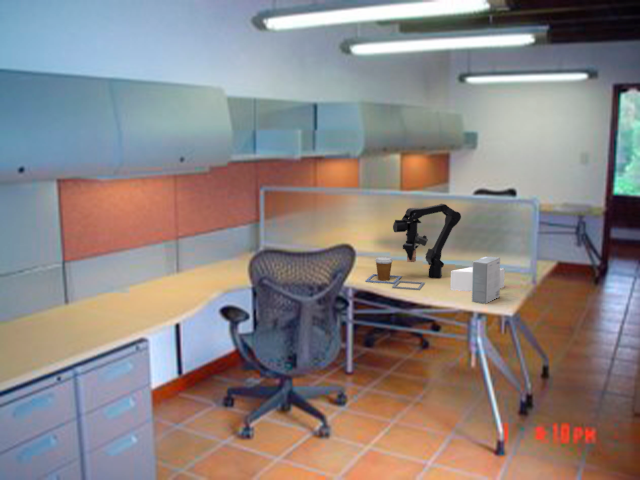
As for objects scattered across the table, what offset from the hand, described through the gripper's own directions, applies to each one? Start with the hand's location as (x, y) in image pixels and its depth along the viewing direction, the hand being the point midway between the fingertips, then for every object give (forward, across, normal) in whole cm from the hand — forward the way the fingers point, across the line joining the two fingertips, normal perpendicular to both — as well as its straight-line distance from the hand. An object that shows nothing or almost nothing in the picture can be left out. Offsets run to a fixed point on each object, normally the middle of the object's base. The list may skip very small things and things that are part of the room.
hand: (411, 259), depth 349 cm
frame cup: (+11, -6, +14) cm, 19 cm away
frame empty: (+11, -16, -2) cm, 20 cm away
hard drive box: (+11, -31, -43) cm, 54 cm away
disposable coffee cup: (+11, -6, +14) cm, 19 cm away
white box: (+11, -11, -37) cm, 40 cm away
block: (+1, 0, 0) cm, 1 cm away
